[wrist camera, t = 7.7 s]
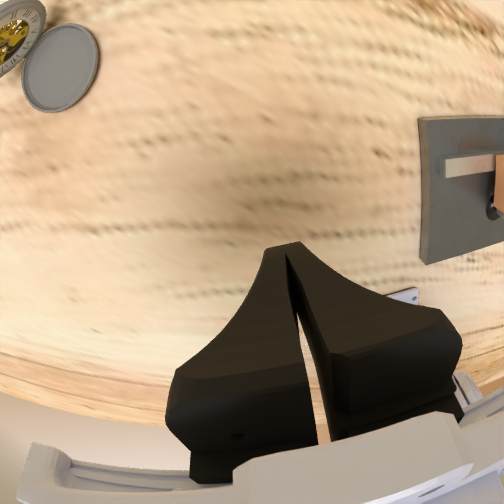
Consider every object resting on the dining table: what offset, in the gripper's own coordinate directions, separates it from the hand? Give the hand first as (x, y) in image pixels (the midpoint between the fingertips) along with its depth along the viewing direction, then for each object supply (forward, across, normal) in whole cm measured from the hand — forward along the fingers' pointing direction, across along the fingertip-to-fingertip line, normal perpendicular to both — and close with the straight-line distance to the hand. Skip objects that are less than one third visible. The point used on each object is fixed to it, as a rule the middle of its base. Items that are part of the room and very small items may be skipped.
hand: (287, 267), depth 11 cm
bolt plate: (+10, -24, +3) cm, 26 cm away
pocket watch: (+11, +12, -14) cm, 21 cm away
